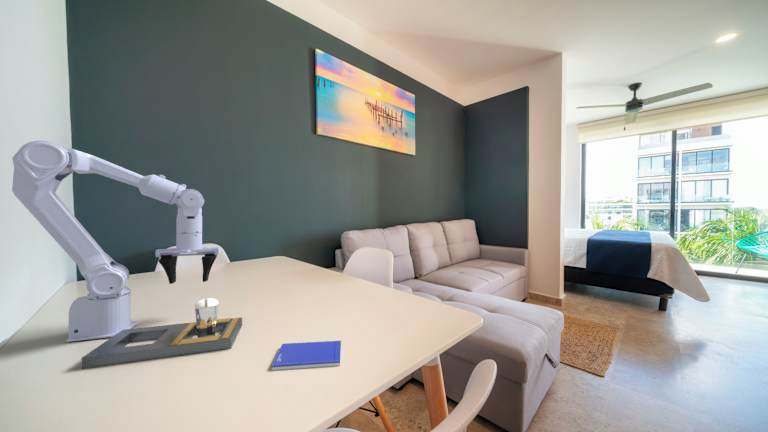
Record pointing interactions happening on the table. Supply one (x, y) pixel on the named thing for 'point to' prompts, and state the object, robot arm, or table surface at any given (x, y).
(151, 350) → the grey slotted plate
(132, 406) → the table surface
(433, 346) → the table surface
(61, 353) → the table surface
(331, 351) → the hard drive
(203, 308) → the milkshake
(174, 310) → the table surface
